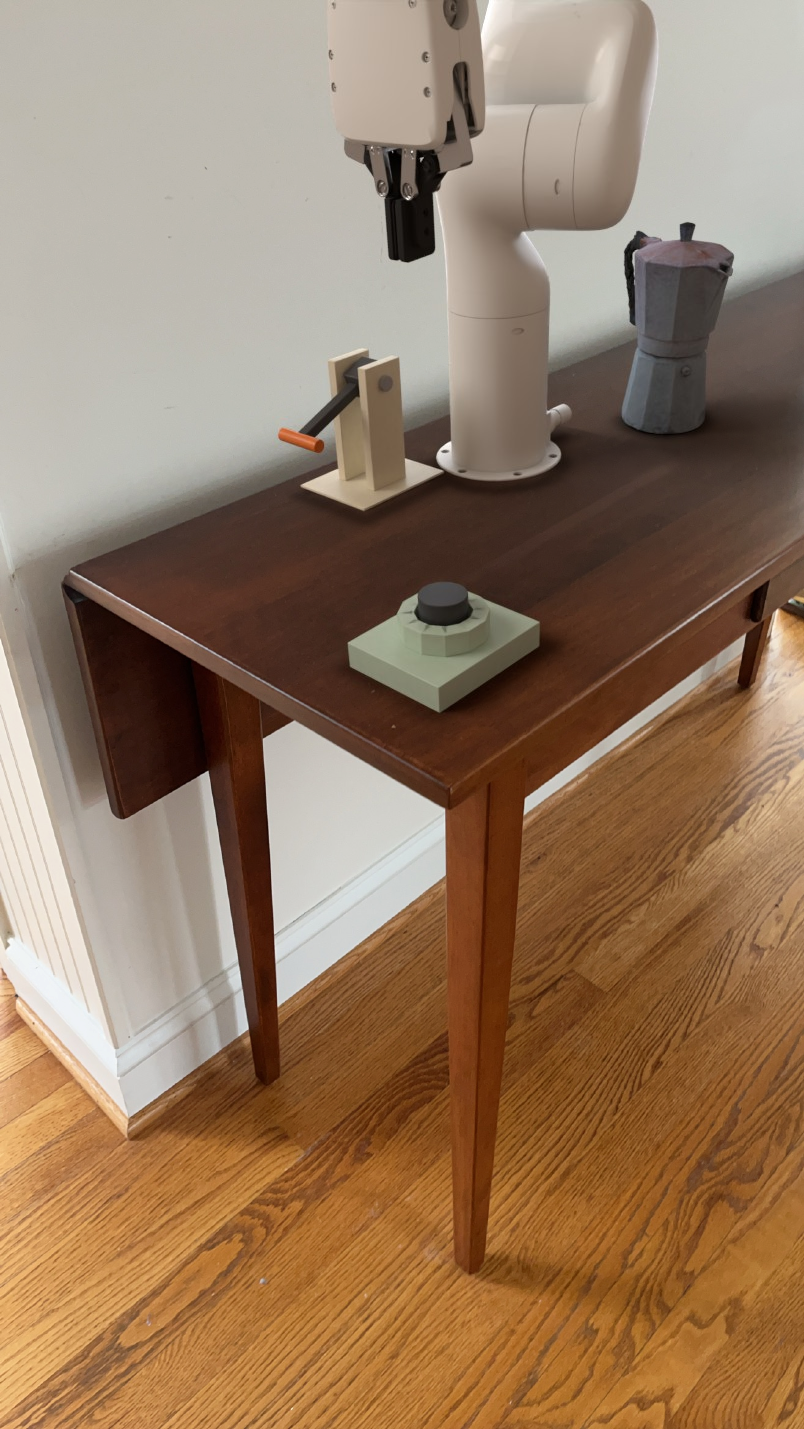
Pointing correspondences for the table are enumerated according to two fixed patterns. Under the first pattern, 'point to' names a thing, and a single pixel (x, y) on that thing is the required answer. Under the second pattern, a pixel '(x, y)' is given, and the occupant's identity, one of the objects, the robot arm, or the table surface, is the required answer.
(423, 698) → the socket block
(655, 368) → the moka pot
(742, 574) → the table surface
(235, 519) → the table surface
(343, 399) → the orange grip lever
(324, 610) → the table surface
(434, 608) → the socket button
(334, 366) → the pivot handle stand
